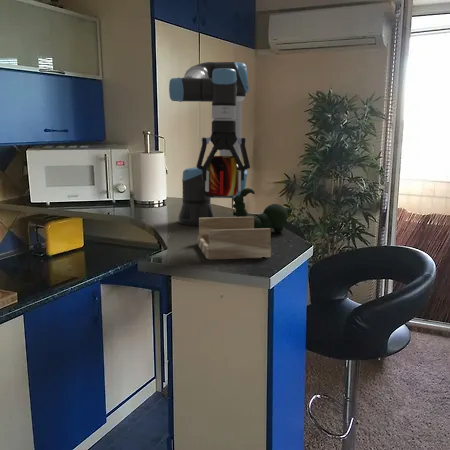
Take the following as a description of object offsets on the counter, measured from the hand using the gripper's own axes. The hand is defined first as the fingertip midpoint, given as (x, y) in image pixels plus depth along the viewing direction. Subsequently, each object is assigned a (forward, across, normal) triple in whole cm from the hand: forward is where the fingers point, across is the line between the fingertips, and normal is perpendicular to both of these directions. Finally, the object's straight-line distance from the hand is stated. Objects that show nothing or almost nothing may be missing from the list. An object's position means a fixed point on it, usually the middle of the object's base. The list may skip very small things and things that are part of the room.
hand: (223, 191), depth 169 cm
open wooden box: (+20, +3, 0) cm, 20 cm away
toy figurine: (+20, +20, +25) cm, 38 cm away
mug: (+1, +1, 0) cm, 2 cm away
